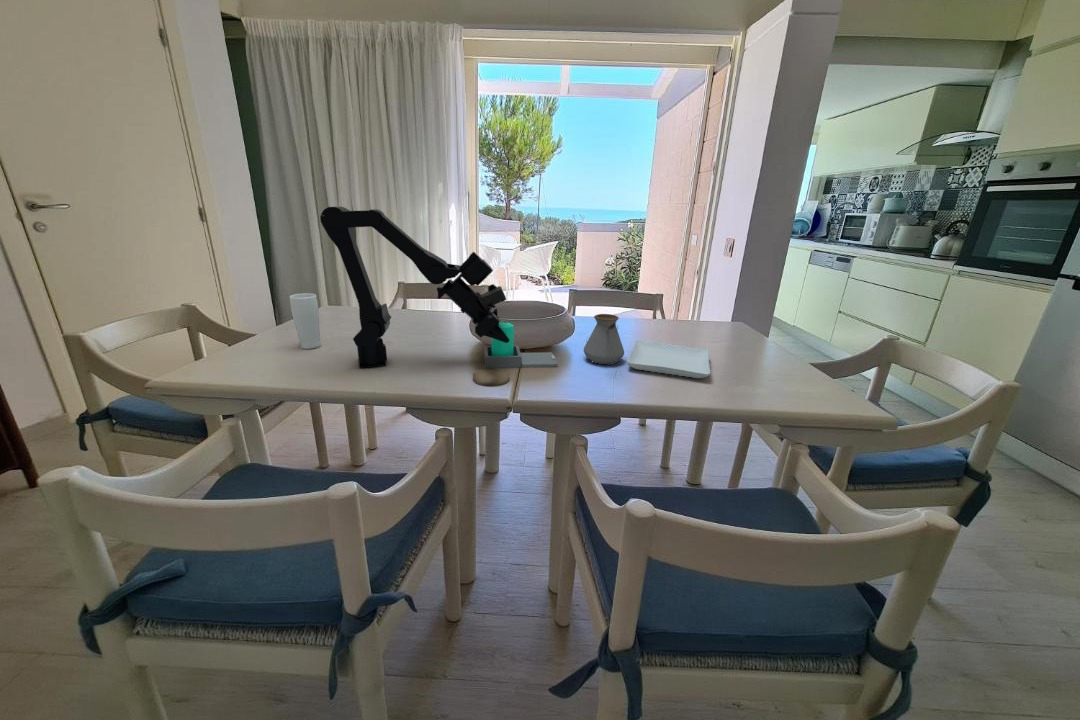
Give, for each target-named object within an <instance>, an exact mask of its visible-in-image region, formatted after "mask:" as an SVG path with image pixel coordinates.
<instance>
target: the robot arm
mask: <svg viewBox="0 0 1080 720" xmlns="http://www.w3.org/2000/svg"><path fill="white" fill-rule="evenodd" d="M319 218H320V223H321V226H322V227H323V229H324V231H325V232H326V234H327V236H328V238H329V239H330V240H331V242H332V243H333V244H334V245H335V246H336V247H337V250H338V252H339V255H340V257H341V260H342V263H343V265H344V268H345V271H346V273H347V276H348V279H349V282H350V284H351V286H352V290H353V292H354V295H355V298H356V300H357V302H358V308H359V311H358V312H359V321H360V322H359V323H360V330H359V331H358V332H357V334H355V335H354V337H353V338H352V340H353V342H354V344H355V346H356V349H357V356H358V359H357V362H358V367H359V369H366V368H376V367H384V366H387V362H388V357H387V356H388V355H387V347H386V344H385V343H384V340H383V338H382V337H384V335H385V333H386V332H387V330H388V329H389V327H390V325H391V321H390V320H391V319H392V316H391V314H390V313H389V309H388V305H387V303H384V304H381V303H380V302H379V300H378V299H377V297H376V295H375V291H374V289H373V286H372V284H371V281H370V278H369V276H368V272H367V270H366V266H365V264H364V261H363V258H362V255H361V253H360V249H359V246H358V242H357V228H367V227H368V228H369V227H371V228H373V229H374V230H375V231H376V232H377V233H379V234H380V235H381V236H382V237H384V238H385V239H386V240H387V241H388V242H390V243H391V244H392V245H393V246H394V247H396V248H397V249H398V250H399V251H400V252H401V253H403V254H404V255H405V256H406V257H407V258H409V260H411V261H412V262H413V264H414V265H415V266H416V268H417V270H419V272H420V273H421V275H422V276H424V278H425V279H426V280H427V281H428V282H429V283H431V284H432V285H440V284H443V283H444V284H443V285H442V286H437V287H436V291H437V299H438V300H440V299H441V298H443V297H444V296H445V295H446V296H447V298H449V299H450V300H451V301H452V302H453V303H454V304H455V305H456V306H457V307H458V308H459V309H460V312H461V313H463V314H466V316H467V317H469V318H470V319H471V322H472V324H475V325H474V331H475V332H474V333H475V334H476V335H477V336H478V337H479V338H482V337H488V338H491V339H492V338H494V339H497V340H500V341H502V342H505V343H508V342H509V341H510V340H509V338H508V337H507V336H506V334H505V333H504V331H503V330H502V329H501V327H500V326H499V322H501V321H500V318H499V316H498V308H496V305H497V304H499V303H503V302H505V301H507V298H506V295H505V292H504V290H503V287H502V286H500V285H498V286H496V285H495V284H494V283H492V284H490V285H488V286H487V291H485V292H484V293H483V294H481V293H480V292H479V291H474V289H473V288H471V287H473V286H477V287H478V286H479V285H480V284H481V283H483V282H484V281H485V279H487V278H488V277H489V275H490V274H492V273H493V272H494V269H493V268H492V267H491V265H489V264H488V263H487V262H486V260H485V259H484V258H483V259H482V257H481V256H480V255H478V254H477V253H476V252H475V251H472V252H471V253H470V255H469V256H468V257H467V258H466V260H464V262H462V263H461V265H460V264H451V263H448V262H447V261H446V260H444V259H442V257H440V256H438V255H436V254H435V253H433V252H431V251H429V250H427V249H425V248H424V247H423V246H421V245H420V244H419V243H417V242H416V240H414V238H411V236H409V235H408V234H407V233H406V232H405V231H404V230H402V229H401V228H400V227H399V226H398V225H396V224H395V223H394V222H393V221H392V220H390V218H388V217H387V216H386V215H385V213H384V212H383V210H381V209H378V208H377V209H376V208H375V209H369V210H350V209H348V208H347V207H343V206H328V207H326V208H324V209H323V210H322V212H321V214H320V217H319ZM454 278H455V279H454ZM452 279H454V280H452ZM463 279H464V280H463ZM465 281H466V282H465ZM468 284H469V285H468ZM491 309H493V311H492V310H491Z"/></svg>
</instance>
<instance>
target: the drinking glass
mask: <svg viewBox="0 0 1080 720" xmlns="http://www.w3.org/2000/svg"><path fill="white" fill-rule="evenodd" d="M289 304H290V305H289V306H290V310H291V314H292V317H293V322H294V326H295V330H296V333H297V338H298V342H299V346H300V348H301V349H304V350H313V348H314V349H318V348H319V347H320V346H321V345H322V344H321V333H320V332H321V331H320V315H319V314H320V313H319V311H320V310H319V303H318V298H317V294H316V293H304V292H303V293H294V294H292V295H289Z"/></svg>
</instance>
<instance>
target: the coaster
mask: <svg viewBox="0 0 1080 720" xmlns="http://www.w3.org/2000/svg"><path fill="white" fill-rule="evenodd" d="M472 373H473V374H472V382H474V383H475V384H476V385H479V386H483V387H499V386H503V385H506V384H507V383H509V382H510V373H509V372H508V371H507V370H506V369H503V368H485V367H484V368H480V369H478V370H475V371H474V372H472ZM505 383H506V384H505Z"/></svg>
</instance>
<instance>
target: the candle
mask: <svg viewBox="0 0 1080 720" xmlns="http://www.w3.org/2000/svg"><path fill="white" fill-rule="evenodd" d="M501 320H502V322H501V321H500V322H499V326H500V327H501V329H502V330H503V331H504V333H505V334H506V336H507V337H508V338H509V340H510V341H509V342H508V343H505V342H502V341H500V340H497V339H494V338H491V346H492V356H513V349H514V346H515V344H514V340H515V339H514V338H515V332H514V331H515V326H514V324H512V323H510V322H504V319H501Z"/></svg>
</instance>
